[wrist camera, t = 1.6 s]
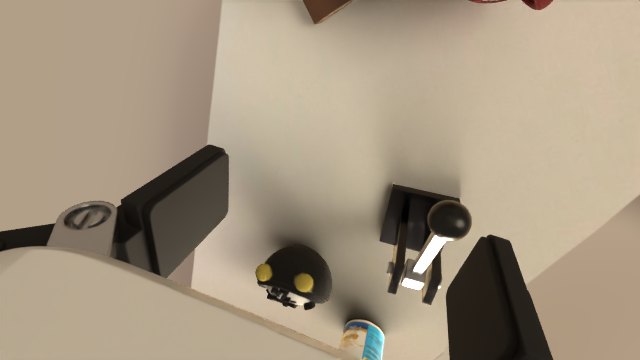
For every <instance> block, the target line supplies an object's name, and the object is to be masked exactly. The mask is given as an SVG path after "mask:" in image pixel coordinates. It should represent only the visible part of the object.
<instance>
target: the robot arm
mask: <svg viewBox="0 0 640 360" xmlns="http://www.w3.org/2000/svg"><path fill="white" fill-rule="evenodd" d="M228 197H229V156H228V154H226V152H225V150H224V149H223V148H219V147H216V146H213V145H207V146H205V147H204V148H202V149H200V150H199V151H197V152H196V153H194V154H193V155H191V156H190V157H188V158H186V159H185V160H183V161H182V162H180V163H178V164H177V165H175V166H174V167H172V168H171V169H169V170H167V171H166V172H164V173H163V174H161V175H160V176H158V177H156V178H155V179H153V180H151V181H150V182H148V183H147V184H145V185H144V186H142V187H141V188H139V189H137V190H136V191H134V192H132V193H131V194H129V195H128V196H126V197H125V198H123V199H121V203H122V204H121V205H120V206H118V207H117V208H116V207H115V206H114V205H113V204H111V203H109V202H104V201H90V202H84V203H80V204H77V205H74V206H72V207H70V208H68V209H67V210H65V211H64V212H63V213H61V215H60V216H59V217H58V219H57V221H56V223H55V224H48V225H41V226H35V227H28V228H21V229H15V230H8V231H1V232H0V360H362V359H360V358H358V357H355V356H353V355H351V354H348V353H346V352H343V351H341V350H339V349H336V348H334V347H332V346H329V345H327V344H324V343H322V342H320V341H317V340H315V339H312V338H310V337H308V336H305V335H303V334H300V333H298V332H296V331H293V330H291V329H288V328H286V327H284V326H281V325H279V324H276V323H274V322H271V321H269V320H267V319H264V318H262V317H259V316H257V315H255V314H252V313H250V312H247V311H245V310H242V309H240V308H238V307H235V306H233V305H230V304H228V303H225V302H223V301H221V300H218V299H216V298H213V297H211V296H208V295H206V294H203V293H201V292H198V291H196V290H194V289H191V288H188V287H186V286H184V285H181V284H178V283H176V282H174V281H172V280H169V279H167V277H168V276H169V275H170V274H171V273H172V272H173V271H174V270H175V269H176V268H177V267H178V266H179V265H180V264H181V263H182V261H183V260H184V259H185V258H186V257H187V256H188V255H189V254H190V253H191V252H192V251H193V250H194V249H195V248H196V247H197V246H198V245H199V244H200V243H201V242H202V241H203V240H204V239H205V238H206V237H207V235H208V234H209V233H210V232H211V231H212V230H213V229H214V228H215V227H216V226H217V225H218V224H219V223H220V222H221V221H222V220H223V219H224V218H225V216H226V215H227V213H228ZM446 306H447V322H448V339H449V355H450V360H553V358H552V355H551V352H550V350H549V347H548V344H547V341H546V338H545V335H544V332H543V330H542V327H541V324H540V321H539V319H538V315H537V313H536V310H535V307H534V304H533V301H532V298H531V296H530V294H529V292H528V290H527V288H526V285H525V282H524V279H523V277H522V274H521V271H520V268H519V265H518V262H517V259H516V257H515V254H514V251H513V248H512V245H511V243H510V241H509V240H506V239H503V238H500V237H497V236H494V235H488V236H487V237H481V238H480V239H479V240H478V242H477V243H476V245H475V247H474V248H473V250H472V251H471V253H470V254H469V256H468V258H467V259H466V261H465V262H464V264H463V265H462V267H461V269H460V270H459V272H458V273H457V275H456V276H455V278H454V279H453V281H452V283H451V284H450V286H449V287H448V290H447V293H446Z"/></svg>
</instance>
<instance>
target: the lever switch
mask: <svg viewBox="0 0 640 360" xmlns="http://www.w3.org/2000/svg"><path fill="white" fill-rule="evenodd" d="M445 200H452V201H456V202H459V203H460V199H459V198H454V197H450V196H445V195H441V194H436V193H432V192H427V191H422V190H418V189H413V188H409V187H404V186H400V185H395V184H393V187H392V191H391V195H390V199H389V203H388V208H387V212H386V216H385V220H384V224H383V228H382V233H381V237H380V241H381V242H384V243H388V244H392V245H394V249H393V256H392V262H389V265H388V270H387V273H388V274H390V277H389V284H388V292H389V293H392V294H396V292H397V289H398V286H399V283H400V280H401V276H402V273H403V270H404V263H405V252H406V248H407V249H411V250H415V251H418V252H420V251H421V249H422V248H423V246H424V244H425V243H426V241H427V239H428V237H429V236H430V234H431V232H432V231H431V230H430V228H429V225H428V214H429V211H430V210H431V208H432V207H433V206H434V205H435V204H437V203H438V202H441V201H445ZM444 244H445V243H444ZM444 244H443V246H444ZM443 246H442V247H441V249H440V250H439V251H438V253H437V254H436V255H435V257H434V258H433V260H432V261H431V262H430V264H429V265H428V267H427V270H426V278H425V284H424V285H423V286H422V303H425V304H428V305H431V304H432V301H433V299H434V297H435V294H436V292H437V290H438V288H440V286H441V283H442V274H441V251H442V249H443Z"/></svg>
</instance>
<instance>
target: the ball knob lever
mask: <svg viewBox="0 0 640 360" xmlns="http://www.w3.org/2000/svg"><path fill="white" fill-rule="evenodd" d="M428 225H429V228H430V230H431V231H432V232H431V234H430V236H429V237H428V239H427V241H426V243H425V244H424V246H423V248H422V249H421V251H420V253H419V254H418V256H417V258H416V260H412V259H408V260H407V262H406V264H405V265H404V270H403V275H402V281H401V285H404V286H407V287H410V288H414V289H417V290H420V289H421V287H422V286H423V285H424V284H425V278H426V270H427V267H428V265H429V264H430V262H431V261H432V260H433V258H434V257H435V255H436V254H437V253H438V251H439V250H440V249H441V247H442V246H443V244H444V243H445V242H446V241H456V240H459V239H462V238H463V237H465V236H466V235H467V234H468V232H469V231H470V228H471V225H472V219H471V215H470V213H469V211H468V209H467V208H466V207H465V206H464V205H462V204H461V203H459V202H456V201H452V200H445V201H441V202H438V203H437V204H435V205H434V206H433V207H432V208H431V210H430V211H429V214H428Z"/></svg>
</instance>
